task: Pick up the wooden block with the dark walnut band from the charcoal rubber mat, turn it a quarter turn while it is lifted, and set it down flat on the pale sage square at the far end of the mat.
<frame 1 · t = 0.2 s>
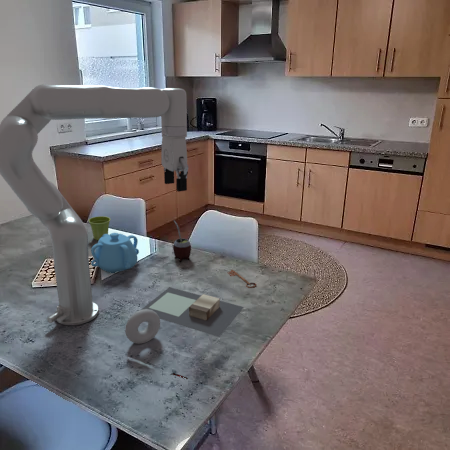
hand: (175, 187, 128), 37 cm above the table, tool pointing down, fingers open, 9 cm apart
mat: (191, 310, 129), on the table
plant pot: (101, 238, 184), on the table
matchbox: (178, 379, 100), on the table
decorative pot: (116, 267, 157), on the table
mate gourd: (181, 259, 165), on the table
key: (239, 280, 150), on the table
wooden block: (197, 318, 124), point 1 cm above the table, touching mat
donut: (143, 342, 113), on the table
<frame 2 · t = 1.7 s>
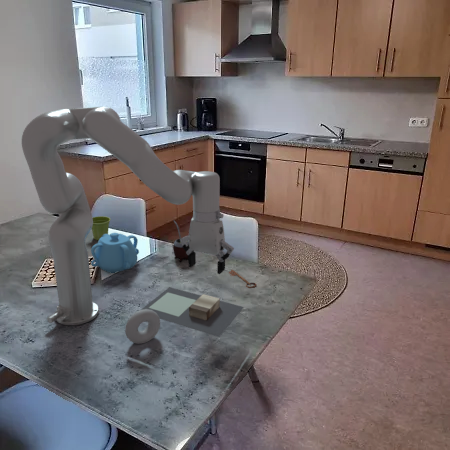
hand: (206, 268, 123), 15 cm above the table, tool pointing down, fingers open, 9 cm apart
nothing on the table moved.
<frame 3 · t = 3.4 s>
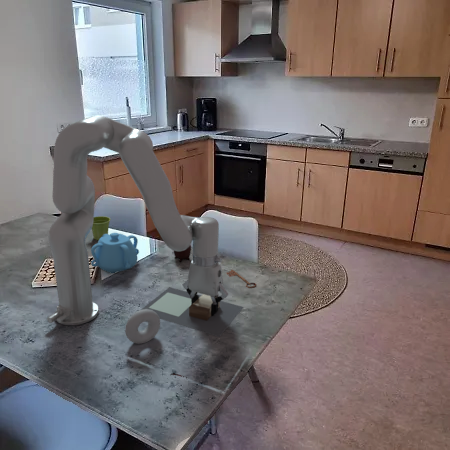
hand: (204, 310, 128), 1 cm above the table, tool pointing down, fingers closed on wooden block, 6 cm apart
wooden block: (197, 318, 124), point 1 cm above the table, touching gripper, mat
everything else where it was.
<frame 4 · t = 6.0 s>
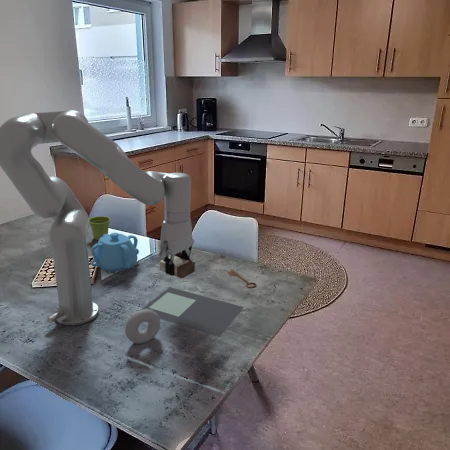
hand: (177, 269, 126), 13 cm above the table, tool pointing down, fingers closed on wooden block, 5 cm apart
wooden block: (188, 275, 124), point 13 cm above the table, touching gripper
everything else where it was.
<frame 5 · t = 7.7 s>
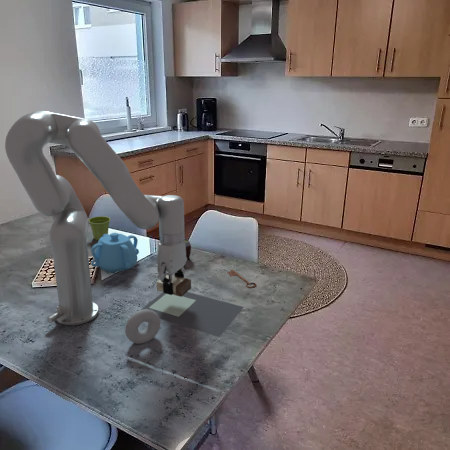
hand: (173, 288, 130), 6 cm above the table, tool pointing down, fingers closed on wooden block, 5 cm apart
wooden block: (186, 292, 128), point 6 cm above the table, touching gripper
everything else where it was.
when the fingers open (2 cm above the table, at t = 8.9 s): wooden block drops 1 cm, resting on mat.
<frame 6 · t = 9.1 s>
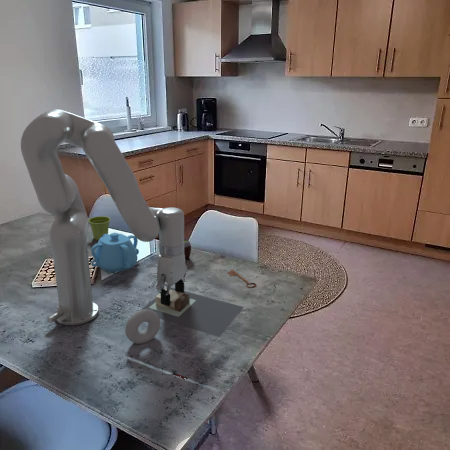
hand: (172, 298, 131), 3 cm above the table, tool pointing down, fingers open, 7 cm apart
wooden block: (184, 307, 130), point 1 cm above the table, touching mat
everything else where it was.
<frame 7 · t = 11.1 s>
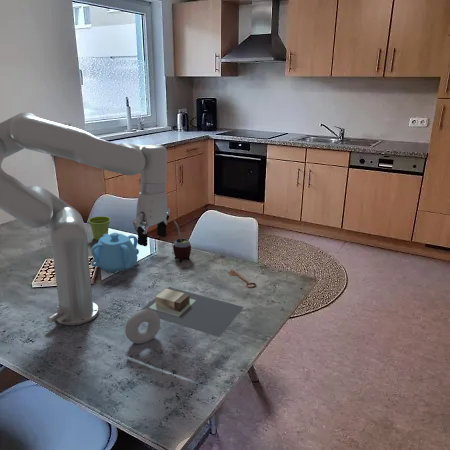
hand: (152, 240, 127), 21 cm above the table, tool pointing down, fingers open, 9 cm apart
nothing on the table moved.
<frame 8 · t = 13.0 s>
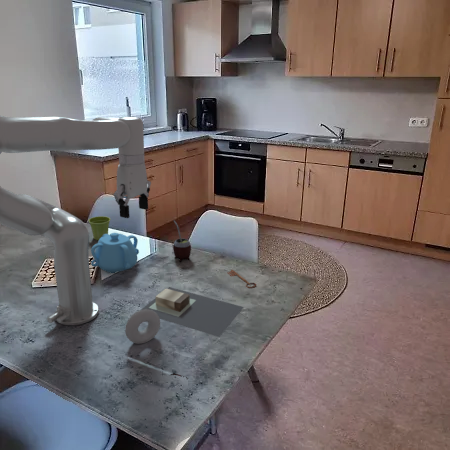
hand: (134, 213, 129), 28 cm above the table, tool pointing down, fingers open, 9 cm apart
nothing on the table moved.
at the end: wooden block inside the target area (4.5 cm from its centre), point 0.6 cm above the table; wooden block tilted 0°; the gripper is holding nothing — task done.
